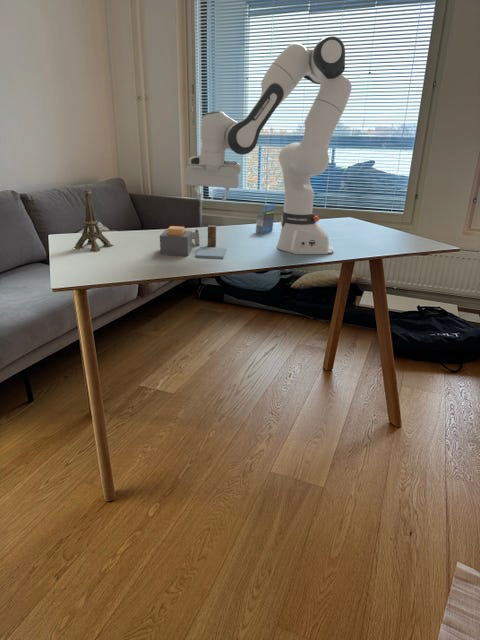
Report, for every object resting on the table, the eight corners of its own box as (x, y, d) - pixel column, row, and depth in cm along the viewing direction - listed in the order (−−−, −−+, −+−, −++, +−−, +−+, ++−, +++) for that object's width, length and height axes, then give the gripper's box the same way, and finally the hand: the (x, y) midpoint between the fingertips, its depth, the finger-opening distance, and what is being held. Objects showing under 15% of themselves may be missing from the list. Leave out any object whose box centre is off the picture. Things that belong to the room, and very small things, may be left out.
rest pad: (225, 250, 164) (225, 248, 164) (223, 258, 153) (223, 256, 153) (200, 248, 164) (200, 246, 164) (195, 257, 153) (195, 255, 153)
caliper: (199, 246, 169) (199, 230, 166) (196, 246, 169) (196, 230, 166) (184, 234, 186) (184, 220, 183) (182, 234, 186) (182, 220, 183)
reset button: (184, 234, 159) (184, 226, 158) (182, 237, 154) (181, 229, 153) (170, 234, 159) (170, 226, 158) (167, 237, 154) (167, 229, 153)
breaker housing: (192, 249, 163) (191, 231, 161) (187, 256, 154) (187, 237, 151) (166, 247, 164) (165, 229, 161) (160, 254, 155) (159, 235, 152)
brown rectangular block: (215, 245, 170) (216, 225, 167) (215, 247, 167) (215, 227, 164) (208, 245, 170) (208, 225, 167) (207, 246, 167) (207, 226, 164)
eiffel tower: (72, 248, 158) (63, 178, 148) (90, 242, 167) (83, 176, 157) (96, 252, 155) (88, 180, 145) (113, 245, 164) (107, 178, 154)
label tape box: (265, 229, 201) (267, 203, 196) (273, 230, 199) (275, 204, 193) (255, 232, 194) (256, 205, 189) (262, 234, 192) (264, 206, 187)
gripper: (241, 161, 158) (239, 199, 164) (186, 158, 159) (186, 196, 164) (240, 162, 152) (238, 201, 158) (183, 159, 153) (183, 198, 158)
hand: (211, 198), depth 161 cm, fingers open, 8 cm apart
